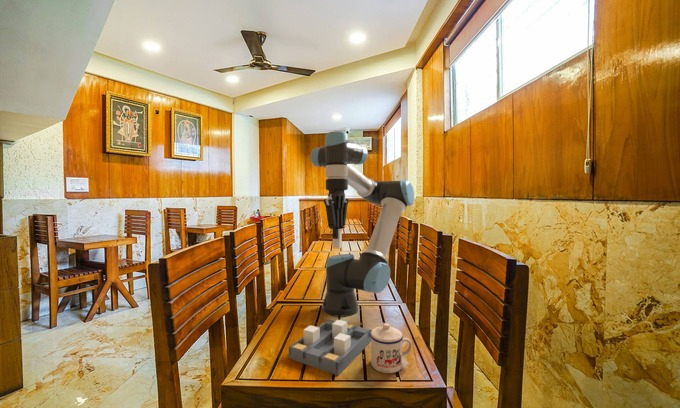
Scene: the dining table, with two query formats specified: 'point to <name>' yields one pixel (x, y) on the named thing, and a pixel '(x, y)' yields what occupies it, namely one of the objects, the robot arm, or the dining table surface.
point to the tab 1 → (311, 335)
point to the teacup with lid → (387, 349)
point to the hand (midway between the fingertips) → (337, 247)
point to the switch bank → (330, 349)
